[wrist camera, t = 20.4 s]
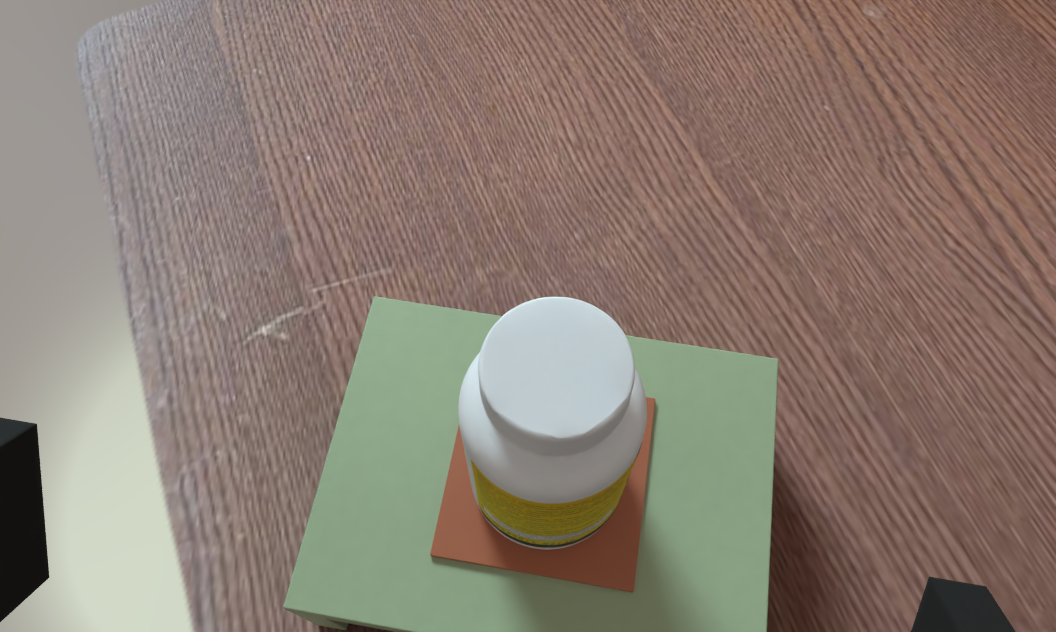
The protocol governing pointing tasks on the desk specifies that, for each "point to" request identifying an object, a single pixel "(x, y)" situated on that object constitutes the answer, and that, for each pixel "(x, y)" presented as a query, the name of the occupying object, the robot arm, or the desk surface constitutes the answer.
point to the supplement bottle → (551, 421)
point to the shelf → (515, 570)
